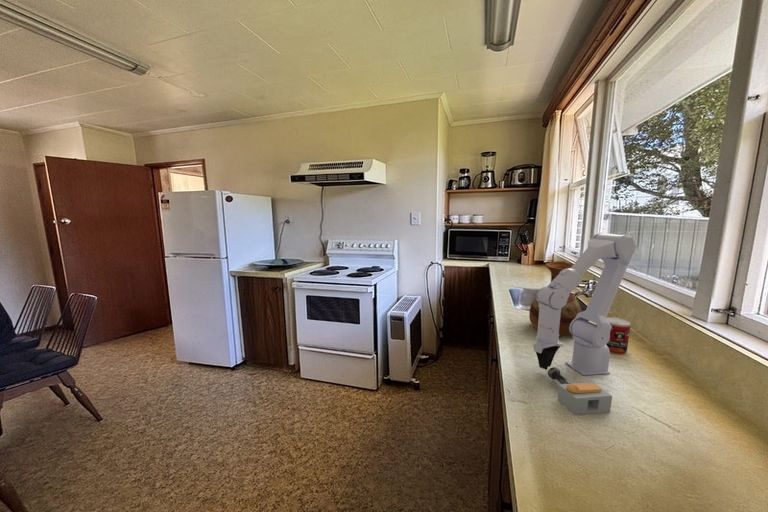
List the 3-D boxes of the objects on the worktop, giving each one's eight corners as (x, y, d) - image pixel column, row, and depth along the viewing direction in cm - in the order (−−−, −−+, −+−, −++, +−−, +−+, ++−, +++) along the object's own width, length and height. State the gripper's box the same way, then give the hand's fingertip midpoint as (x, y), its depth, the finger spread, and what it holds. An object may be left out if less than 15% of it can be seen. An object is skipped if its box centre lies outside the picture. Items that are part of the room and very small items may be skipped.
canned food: (604, 352, 106) (608, 323, 104) (598, 343, 113) (601, 316, 112) (630, 356, 103) (634, 326, 102) (622, 346, 111) (625, 318, 109)
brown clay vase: (524, 332, 123) (530, 262, 119) (532, 318, 140) (537, 256, 135) (580, 344, 112) (588, 268, 108) (581, 327, 129) (588, 260, 124)
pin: (547, 378, 88) (548, 367, 88) (557, 377, 89) (558, 367, 88) (574, 401, 78) (575, 389, 77) (586, 400, 78) (587, 388, 78)
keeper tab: (593, 386, 78) (593, 383, 78) (601, 391, 75) (601, 389, 75) (564, 387, 77) (564, 384, 77) (571, 393, 74) (571, 390, 74)
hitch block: (591, 397, 80) (593, 382, 80) (610, 412, 75) (612, 395, 74) (557, 399, 79) (558, 384, 79) (573, 415, 74) (575, 398, 73)
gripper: (553, 336, 82) (549, 380, 84) (571, 323, 92) (567, 363, 94) (528, 328, 88) (524, 371, 90) (547, 317, 97) (543, 355, 99)
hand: (544, 366), depth 92 cm, fingers closed
